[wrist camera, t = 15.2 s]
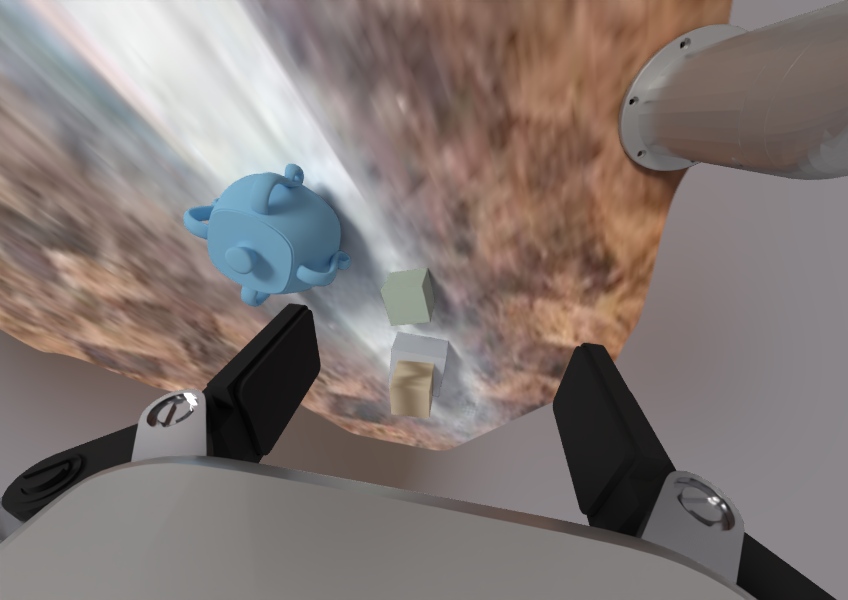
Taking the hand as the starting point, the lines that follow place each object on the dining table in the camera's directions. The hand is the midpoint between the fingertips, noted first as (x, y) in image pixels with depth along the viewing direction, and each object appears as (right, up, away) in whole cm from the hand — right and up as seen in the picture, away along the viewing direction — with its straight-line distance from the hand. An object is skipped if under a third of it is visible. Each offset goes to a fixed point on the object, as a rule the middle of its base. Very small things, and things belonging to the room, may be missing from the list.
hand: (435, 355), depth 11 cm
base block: (-1, -8, +44) cm, 45 cm away
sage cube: (-2, +4, +37) cm, 37 cm away
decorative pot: (-19, +13, +35) cm, 42 cm away
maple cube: (-2, -11, +40) cm, 42 cm away
